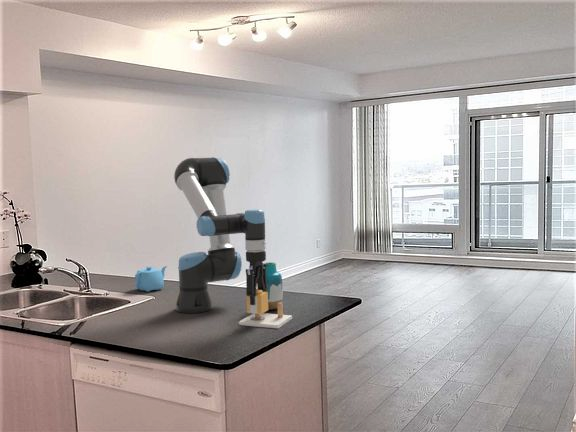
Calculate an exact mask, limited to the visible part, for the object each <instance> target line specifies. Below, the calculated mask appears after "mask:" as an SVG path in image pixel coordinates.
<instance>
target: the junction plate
mask: <svg viewBox="0 0 576 432" xmlns="http://www.w3.org/2000/svg"><path fill="white" fill-rule="evenodd" d="M283 303H284V302H283V301H282V302H279V303H277V307H278V308H277V313H276V314H275V313H266V312H264V313H262V314H256V313H250V315H248V316H246V317H244V318H243V319H241V320H240V321H238V325H239V326H247V327H248V326H249V327H256V328H257V327H259V328H269V329H280V328H281V327H283V326H284V325H285V324H287V323H288V322H290V321H291V320H293V315H290V314H289V315H288V314H284V312H283V311H284V310H283V309H284V306H283Z"/></svg>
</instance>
